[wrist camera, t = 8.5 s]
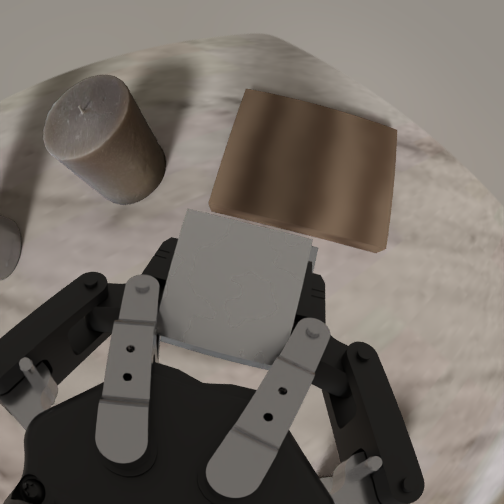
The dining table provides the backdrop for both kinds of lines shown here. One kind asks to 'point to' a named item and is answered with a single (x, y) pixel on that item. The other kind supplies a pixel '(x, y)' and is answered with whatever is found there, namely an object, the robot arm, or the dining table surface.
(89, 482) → the robot arm
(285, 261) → the block
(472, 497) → the dining table surface
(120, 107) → the pillar candle
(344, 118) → the walnut plinth
